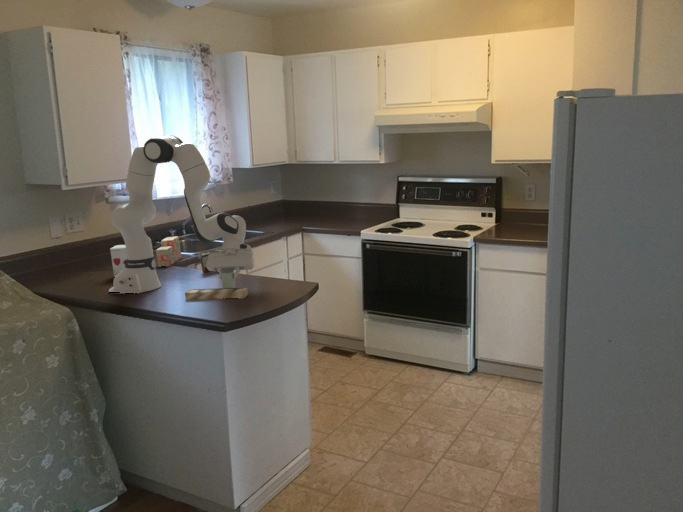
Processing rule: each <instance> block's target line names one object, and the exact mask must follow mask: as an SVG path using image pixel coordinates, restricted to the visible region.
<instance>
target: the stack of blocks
mask: <svg viewBox="0 0 683 512" xmlns="http://www.w3.org/2000/svg"><path fill="white" fill-rule="evenodd" d="M160 244H161V246H160V247H158V248H157V249H156V250H155V253H156V261H157V267H158V268H162V267H161V266H166V267H170V266H172V265H173V264H174V263H176V262H177V261H179V260H181V258H182V252H181V243H180V236H177V235H176V236H167V237H165V238H163V239H162V240H161V241H160Z"/></svg>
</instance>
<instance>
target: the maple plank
mask: <svg viewBox="0 0 683 512" xmlns="http://www.w3.org/2000/svg"><path fill="white" fill-rule="evenodd" d="M184 295H185V298H184V299H185V301H188V300H189V301H192V300H195V299H199V300H226V299H225V298H238V299H245V298H246V297H247V296H248V295H249V291H248V287H236V288H223V287H222V288H193V289H191V288H190V289H188V290H186V291H185V292H184ZM223 298H224V299H223ZM195 301H196V300H195Z"/></svg>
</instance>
